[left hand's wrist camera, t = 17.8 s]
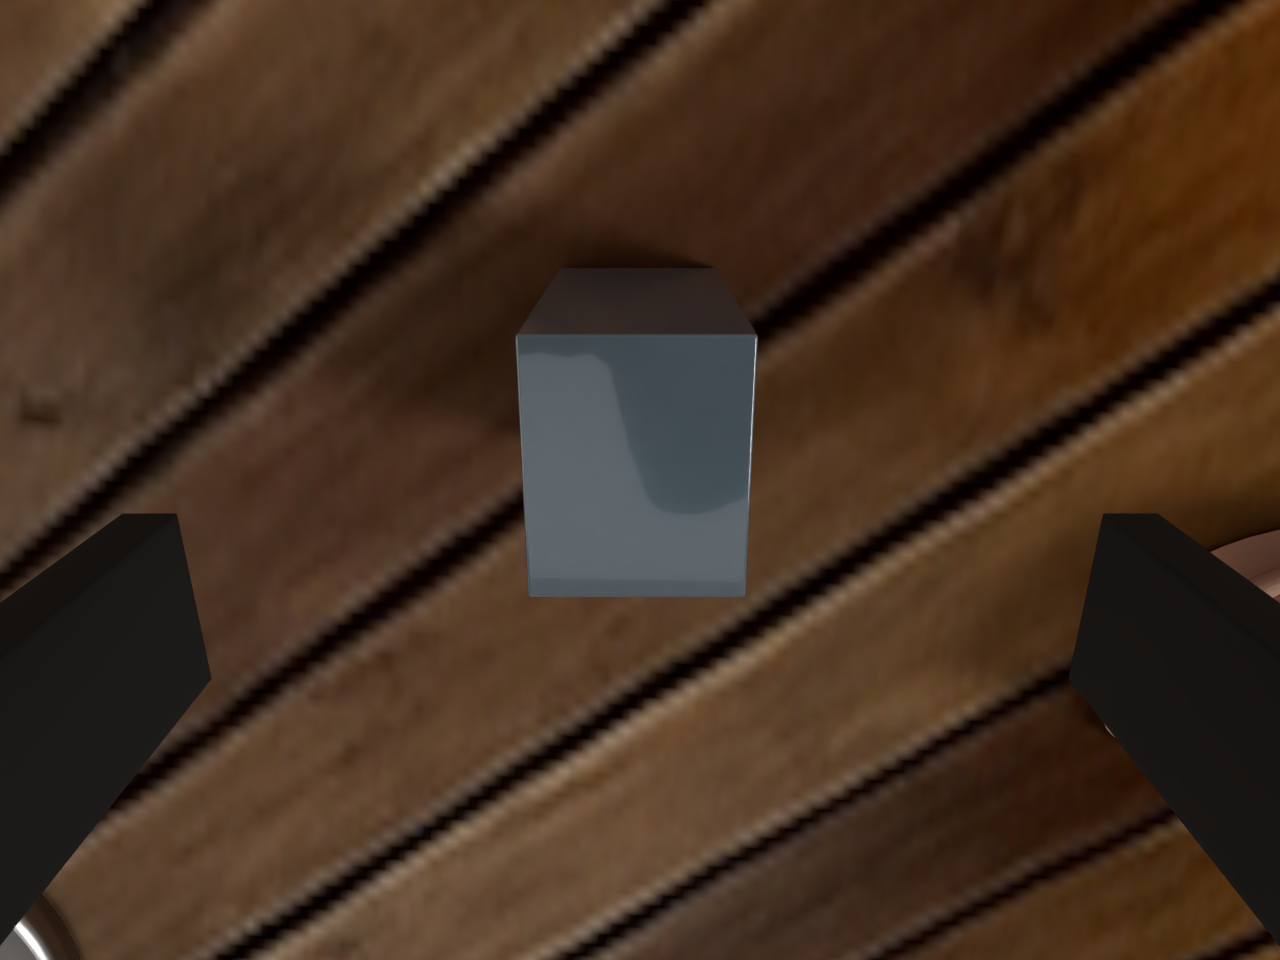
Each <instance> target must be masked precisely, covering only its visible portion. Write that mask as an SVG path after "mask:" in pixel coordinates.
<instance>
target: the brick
mask: <svg viewBox="0 0 1280 960" xmlns="http://www.w3.org/2000/svg"><path fill="white" fill-rule="evenodd" d="M515 346H516V365H517V385H518V404H519V424H520V443H521V462H522V482H523V501H524V521H525V540H526V560H527V579H528V594H529V596H530V597H744V596H745V594H746V575H747V554H748V533H749V513H750V492H751V471H752V451H753V430H754V409H755V389H756V368H757V347H758V336H757V334H756V332H755V331H754V329H753V327H752V326H751V324H750V322H749V321H748V319H747V317H746V315H745V314H744V312H743V310H742V309H741V307H740V305H739V304H738V302H737V300H736V299H735V297H734V295H733V294H732V292H731V290H730V289H729V287H728V285H727V284H726V282H725V280H724V279H723V277H722V275H721V274H720V272H719V270H718V269H717V268H561V269H560V270H559V271H558V273H557V274H556V276H555V277H554V279H553V280H552V282H551V283H550V285H549V286H548V288H547V289H546V291H545V292H544V294H543V295H542V297H541V298H540V300H539V301H538V303H537V304H536V306H535V307H534V308H533V310H532V311H531V313H530V314H529V316H528V317H527V319H526V320H525V322H524V323H523V325H522V326H521V328H520V329H519V331H518V332H517V334H516V336H515Z"/></svg>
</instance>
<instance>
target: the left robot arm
mask: <svg viewBox="0 0 1280 960" xmlns="http://www.w3.org/2000/svg"><path fill="white" fill-rule="evenodd" d="M210 680H211V674H210V670H209V665H208V660H207V655H206V651H205V646H204V641H203V636H202V632H201V627H200V622H199V617H198V613H197V608H196V603H195V598H194V594H193V589H192V584H191V579H190V574H189V570H188V565H187V560H186V555H185V551H184V546H183V541H182V536H181V532H180V527H179V522H178V517H177V514H121V515H120V516H119V517H117V518H116V519H115V520H113V521H112V522H110V523H109V524H108V525H106V526H105V527H104V528H102V529H101V530H100V531H98V532H97V533H95V534H94V535H93V536H91V537H90V538H89V539H87V540H86V541H84V542H83V543H82V544H80V545H79V546H78V547H76V548H75V549H73V550H72V551H71V552H69V553H68V554H67V555H65V556H64V557H62V558H61V559H60V560H58V561H57V562H56V563H54V564H53V565H51V566H50V567H49V568H47V569H46V570H45V571H43V572H42V573H41V574H39V575H38V576H36V577H35V578H34V579H32V580H31V581H30V582H28V583H27V584H25V585H24V586H23V587H21V588H20V589H19V590H17V591H16V592H14V593H13V594H12V595H10V596H9V597H8V598H6V599H5V600H3V601H2V602H1V603H0V946H1V944H2V943H3V942H4V941H5V939H6V938H7V937H8V935H9V934H10V933H11V932H12V930H13V929H14V928H15V927H16V925H17V924H18V923H19V922H20V920H21V919H22V918H23V917H24V915H25V914H26V913H27V911H28V910H29V909H30V908H31V906H32V905H33V904H34V903H35V901H36V900H37V899H38V898H39V896H40V895H41V894H42V892H43V891H44V890H45V889H46V887H47V886H48V885H49V884H50V882H51V881H52V880H53V879H54V877H55V876H56V875H57V874H58V872H59V871H60V870H61V868H62V867H63V866H64V865H65V863H66V862H67V861H68V860H69V858H70V857H71V856H72V855H73V853H74V852H75V851H76V849H77V848H78V847H79V846H80V844H81V843H82V842H83V841H84V839H85V838H86V837H87V836H88V834H89V833H90V832H91V830H92V829H93V828H94V827H95V825H96V824H97V823H98V822H99V820H100V819H101V818H102V817H103V815H104V814H105V813H106V812H107V810H108V809H109V808H110V806H111V805H112V804H113V803H114V801H115V800H116V799H117V798H118V796H119V795H120V794H121V793H122V791H123V790H124V789H125V787H126V786H127V785H128V784H129V782H130V781H131V780H132V779H133V777H134V776H135V775H136V774H137V772H138V771H139V770H140V769H141V767H142V766H143V765H144V763H145V762H146V761H147V760H148V758H149V757H150V756H151V755H152V753H153V752H154V751H155V750H156V748H157V747H158V746H159V744H160V743H161V742H162V741H163V739H164V738H165V737H166V736H167V734H168V733H169V732H170V731H171V729H172V728H173V727H174V725H175V724H176V723H177V722H178V720H179V719H180V718H181V717H182V715H183V714H184V713H185V712H186V710H187V709H188V708H189V707H190V705H191V704H192V703H193V701H194V700H195V699H196V698H197V696H198V695H199V694H200V693H201V691H202V690H203V689H204V688H205V686H206V685H207V684H208V682H209V681H210ZM1069 680H1070V681H1071V682H1072V684H1073V685H1074V686H1075V688H1076V689H1077V690H1078V691H1079V693H1080V694H1081V695H1082V696H1083V698H1084V699H1085V700H1086V701H1087V703H1088V704H1089V705H1090V707H1091V708H1092V709H1093V710H1094V712H1095V713H1096V714H1097V715H1098V717H1099V718H1100V719H1101V720H1102V722H1103V723H1104V724H1105V725H1106V727H1107V728H1108V729H1109V731H1110V732H1111V733H1112V734H1113V736H1114V737H1115V738H1116V739H1117V741H1118V742H1119V743H1120V744H1121V746H1122V747H1123V748H1124V750H1125V751H1126V752H1127V753H1128V755H1129V756H1130V757H1131V758H1132V760H1133V761H1134V762H1135V763H1136V765H1137V766H1138V767H1139V769H1140V770H1141V771H1142V772H1143V774H1144V775H1145V776H1146V777H1147V779H1148V780H1149V781H1150V782H1151V784H1152V785H1153V786H1154V787H1155V789H1156V790H1157V791H1158V793H1159V794H1160V795H1161V796H1162V798H1163V799H1164V800H1165V801H1166V803H1167V804H1168V805H1169V806H1170V808H1171V809H1172V810H1173V812H1174V813H1175V814H1176V815H1177V817H1178V818H1179V819H1180V820H1181V822H1182V823H1183V824H1184V825H1185V827H1186V828H1187V829H1188V830H1189V832H1190V833H1191V834H1192V836H1193V837H1194V838H1195V839H1196V841H1197V842H1198V843H1199V844H1200V846H1201V847H1202V848H1203V849H1204V851H1205V852H1206V853H1207V855H1208V856H1209V857H1210V858H1211V860H1212V861H1213V862H1214V863H1215V865H1216V866H1217V867H1218V868H1219V870H1220V871H1221V872H1222V874H1223V875H1224V876H1225V877H1226V879H1227V880H1228V881H1229V882H1230V884H1231V885H1232V886H1233V887H1234V889H1235V890H1236V891H1237V892H1238V894H1239V895H1240V896H1241V898H1242V899H1243V900H1244V901H1245V903H1246V904H1247V905H1248V906H1249V908H1250V909H1251V910H1252V911H1253V913H1254V914H1255V915H1256V917H1257V918H1258V919H1259V920H1260V922H1261V923H1262V924H1263V925H1264V927H1265V928H1266V929H1267V930H1268V932H1269V933H1270V934H1271V936H1272V937H1273V938H1274V939H1275V941H1276V942H1277V943H1278V944H1279V946H1280V603H1279V602H1278V601H1277V600H1275V599H1274V598H1272V597H1271V596H1270V595H1268V594H1267V593H1266V592H1264V591H1263V590H1261V589H1260V588H1259V587H1257V586H1256V585H1255V584H1253V583H1252V582H1250V581H1249V580H1248V579H1246V578H1245V577H1244V576H1242V575H1241V574H1239V573H1238V572H1237V571H1235V570H1234V569H1233V568H1231V567H1230V566H1228V565H1227V564H1226V563H1224V562H1223V561H1222V560H1220V559H1219V558H1218V557H1216V556H1215V555H1213V554H1212V553H1211V552H1209V551H1208V550H1207V549H1205V548H1204V547H1202V546H1201V545H1200V544H1198V543H1197V542H1196V541H1194V540H1193V539H1191V538H1190V537H1189V536H1187V535H1186V534H1185V533H1183V532H1182V531H1180V530H1179V529H1178V528H1176V527H1175V526H1174V525H1172V524H1171V523H1170V522H1168V521H1167V520H1165V519H1164V518H1163V517H1161V516H1160V515H1159V514H1103V517H1102V522H1101V527H1100V532H1099V536H1098V541H1097V546H1096V551H1095V555H1094V560H1093V565H1092V570H1091V574H1090V579H1089V584H1088V589H1087V593H1086V598H1085V603H1084V608H1083V613H1082V617H1081V622H1080V627H1079V632H1078V636H1077V641H1076V646H1075V651H1074V655H1073V660H1072V665H1071V670H1070V674H1069Z"/></svg>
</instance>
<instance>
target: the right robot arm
mask: <svg viewBox="0 0 1280 960" xmlns="http://www.w3.org/2000/svg"><path fill="white" fill-rule="evenodd" d="M0 960H80V958H79V955H78V952H77V949H76V947H75V944H74V942H73V940H72V938H71V936H70V934H69V931H68V929H67V928H66V926H65V925H64V923H63V921H62V920H61V918H60V917H59V915H58V914H57V913H56V911H55V910H54V909H53V907H52V906H51V905H50V904H49V902H48V901H47V900H46V899H45V898H44V897H43V896H42V895H40V896H39V898H38V899H37V900H36V901H35V903H34V904H33V905H32V906H31V908H30V909H29V910H28V911H27V913H26V914H25V915H24V917H23V918H22V919H21V920H20V922H19V923H18V924H17V925H16V927H15V928H14V929H13V930H12V932H11V933H10V934H9V935H8V937H7V938H6V939H5V941H4V942H3V943H2V944H1V946H0Z"/></svg>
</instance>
